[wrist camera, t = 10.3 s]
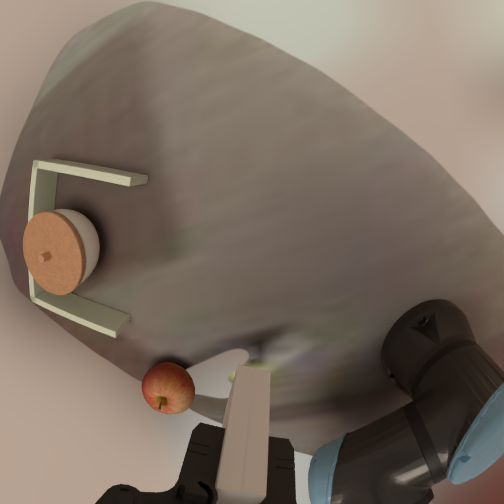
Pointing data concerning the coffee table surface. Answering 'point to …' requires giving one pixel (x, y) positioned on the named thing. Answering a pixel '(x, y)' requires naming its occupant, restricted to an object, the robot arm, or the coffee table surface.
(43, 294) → the bin
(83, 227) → the lidded jar
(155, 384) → the apple
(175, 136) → the coffee table surface
